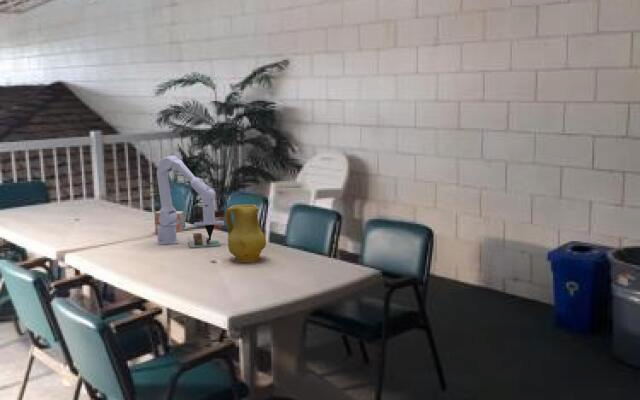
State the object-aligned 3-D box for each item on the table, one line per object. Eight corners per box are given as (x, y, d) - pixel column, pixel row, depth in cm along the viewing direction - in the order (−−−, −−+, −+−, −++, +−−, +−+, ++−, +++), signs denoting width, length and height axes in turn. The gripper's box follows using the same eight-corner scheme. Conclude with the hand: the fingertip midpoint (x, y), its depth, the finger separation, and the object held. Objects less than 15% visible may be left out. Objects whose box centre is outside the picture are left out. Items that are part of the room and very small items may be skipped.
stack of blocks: (175, 227, 371) (174, 205, 369) (185, 227, 369) (184, 206, 367) (155, 234, 351) (154, 212, 349) (165, 235, 349) (164, 212, 347)
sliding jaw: (202, 245, 320) (202, 239, 320) (201, 241, 330) (200, 235, 329) (210, 245, 321) (209, 239, 321) (208, 240, 331) (208, 235, 330)
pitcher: (235, 265, 284) (235, 208, 281) (221, 258, 300) (220, 204, 298) (272, 261, 292) (271, 206, 289) (256, 255, 308) (255, 202, 306)
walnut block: (194, 245, 321) (193, 235, 321) (193, 243, 326) (193, 233, 325) (202, 244, 322) (201, 234, 322) (201, 242, 327) (201, 232, 326)
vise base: (189, 248, 318) (189, 241, 317) (188, 243, 329) (187, 236, 329) (220, 246, 321) (220, 239, 321) (217, 241, 333) (217, 234, 332)
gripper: (194, 215, 318) (195, 242, 320) (224, 213, 321) (225, 240, 324) (193, 213, 325) (194, 239, 327) (222, 211, 328) (223, 237, 330)
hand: (209, 240), depth 326 cm, fingers closed, pressing on sliding jaw
